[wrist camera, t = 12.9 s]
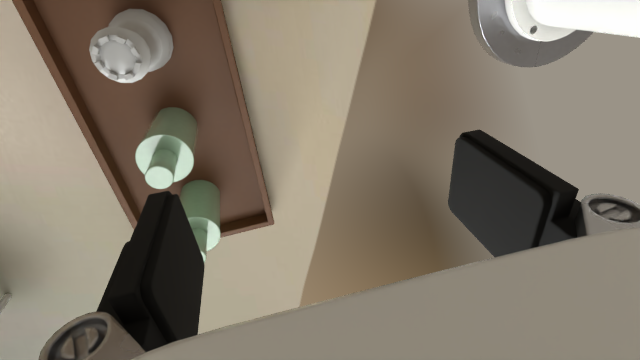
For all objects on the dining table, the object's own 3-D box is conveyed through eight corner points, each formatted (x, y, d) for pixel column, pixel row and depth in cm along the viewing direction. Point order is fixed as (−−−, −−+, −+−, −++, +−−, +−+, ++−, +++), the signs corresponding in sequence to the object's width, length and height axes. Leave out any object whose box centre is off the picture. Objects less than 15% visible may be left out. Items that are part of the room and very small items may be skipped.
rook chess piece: (182, 63, 28) (169, 88, 21) (126, 74, 27) (94, 103, 20) (161, 3, 25) (140, 10, 19) (99, 13, 25) (54, 23, 18)
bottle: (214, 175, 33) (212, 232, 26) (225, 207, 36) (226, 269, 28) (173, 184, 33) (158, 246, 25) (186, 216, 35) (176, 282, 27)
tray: (211, -40, 26) (210, -42, 24) (271, 212, 38) (274, 224, 36) (21, -16, 24) (3, -16, 22) (151, 241, 36) (147, 256, 34)
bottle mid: (190, 103, 29) (179, 145, 22) (204, 144, 32) (198, 195, 24) (143, 111, 29) (114, 158, 21) (160, 153, 31) (140, 208, 23)
